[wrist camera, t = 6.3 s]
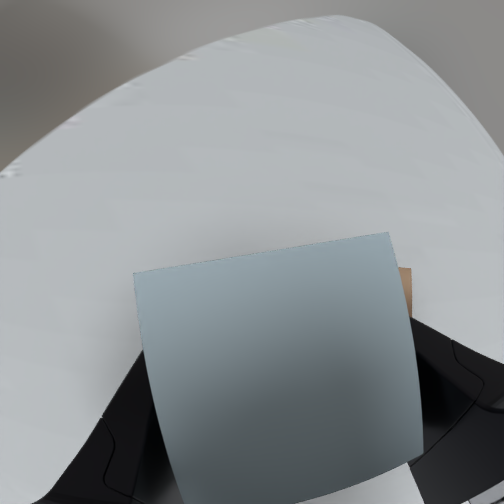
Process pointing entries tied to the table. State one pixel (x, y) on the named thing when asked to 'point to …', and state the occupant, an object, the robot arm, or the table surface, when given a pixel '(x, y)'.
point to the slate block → (282, 371)
